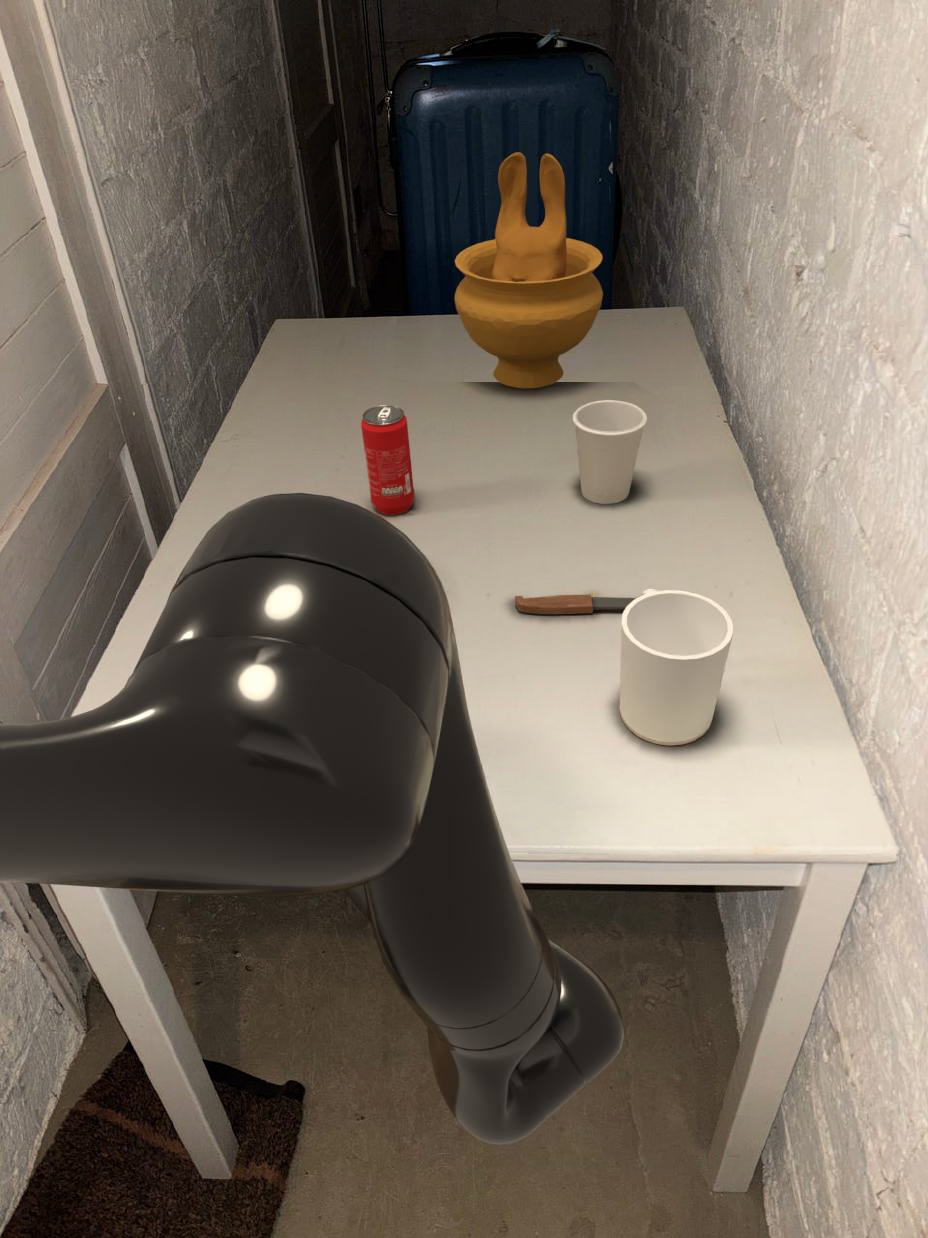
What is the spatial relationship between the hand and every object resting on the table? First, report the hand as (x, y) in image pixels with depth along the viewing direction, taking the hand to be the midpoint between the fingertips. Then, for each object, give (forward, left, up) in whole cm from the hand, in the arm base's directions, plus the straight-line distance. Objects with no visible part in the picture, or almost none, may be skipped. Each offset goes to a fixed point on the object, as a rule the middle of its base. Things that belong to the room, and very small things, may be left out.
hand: (282, 702), depth 72 cm
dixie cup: (+46, +28, -9) cm, 54 cm away
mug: (+32, -6, -9) cm, 33 cm away
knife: (+34, +9, -9) cm, 36 cm away
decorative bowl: (+53, +63, -9) cm, 82 cm away
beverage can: (+22, +37, -9) cm, 44 cm away
